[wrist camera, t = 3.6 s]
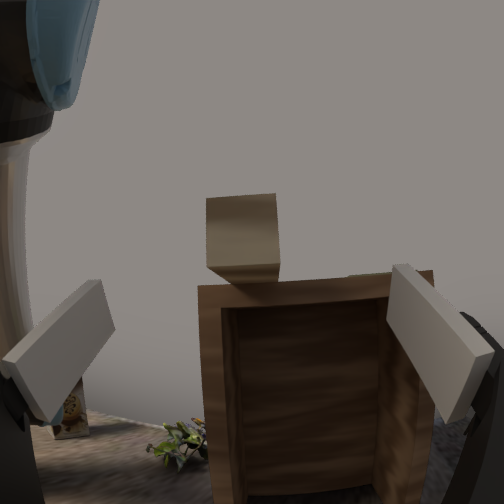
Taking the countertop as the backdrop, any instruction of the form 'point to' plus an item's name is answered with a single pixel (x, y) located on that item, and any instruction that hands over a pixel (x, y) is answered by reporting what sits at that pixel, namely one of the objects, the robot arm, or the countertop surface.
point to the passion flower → (182, 442)
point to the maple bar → (243, 238)
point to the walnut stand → (310, 390)
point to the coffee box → (72, 416)
